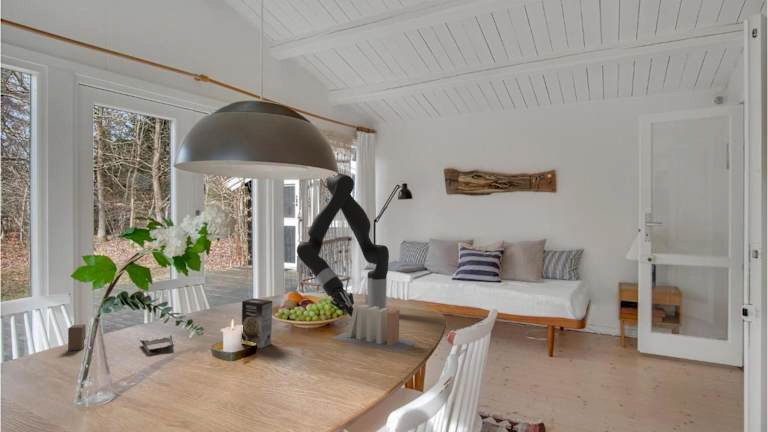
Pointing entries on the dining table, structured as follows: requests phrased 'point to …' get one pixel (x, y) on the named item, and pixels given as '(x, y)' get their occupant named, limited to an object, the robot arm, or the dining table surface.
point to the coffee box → (257, 321)
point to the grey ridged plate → (397, 347)
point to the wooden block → (76, 337)
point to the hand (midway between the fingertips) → (354, 315)
